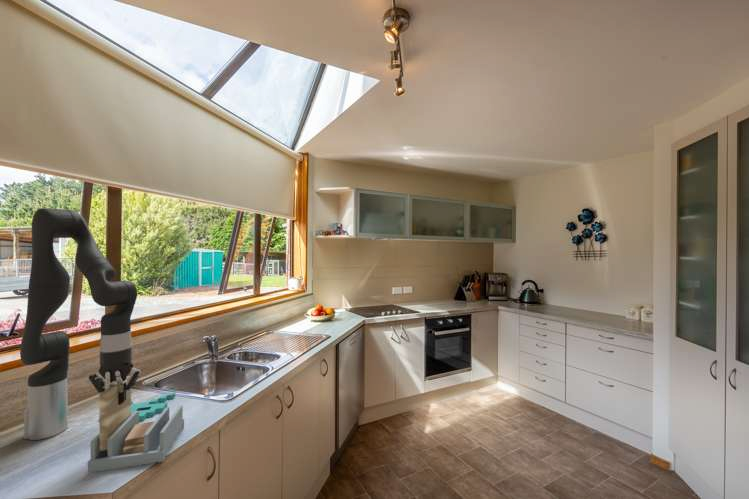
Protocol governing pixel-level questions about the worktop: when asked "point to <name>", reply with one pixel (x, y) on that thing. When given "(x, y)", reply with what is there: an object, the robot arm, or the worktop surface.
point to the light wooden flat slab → (112, 412)
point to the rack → (156, 435)
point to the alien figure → (150, 407)
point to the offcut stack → (136, 438)
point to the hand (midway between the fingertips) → (116, 403)
